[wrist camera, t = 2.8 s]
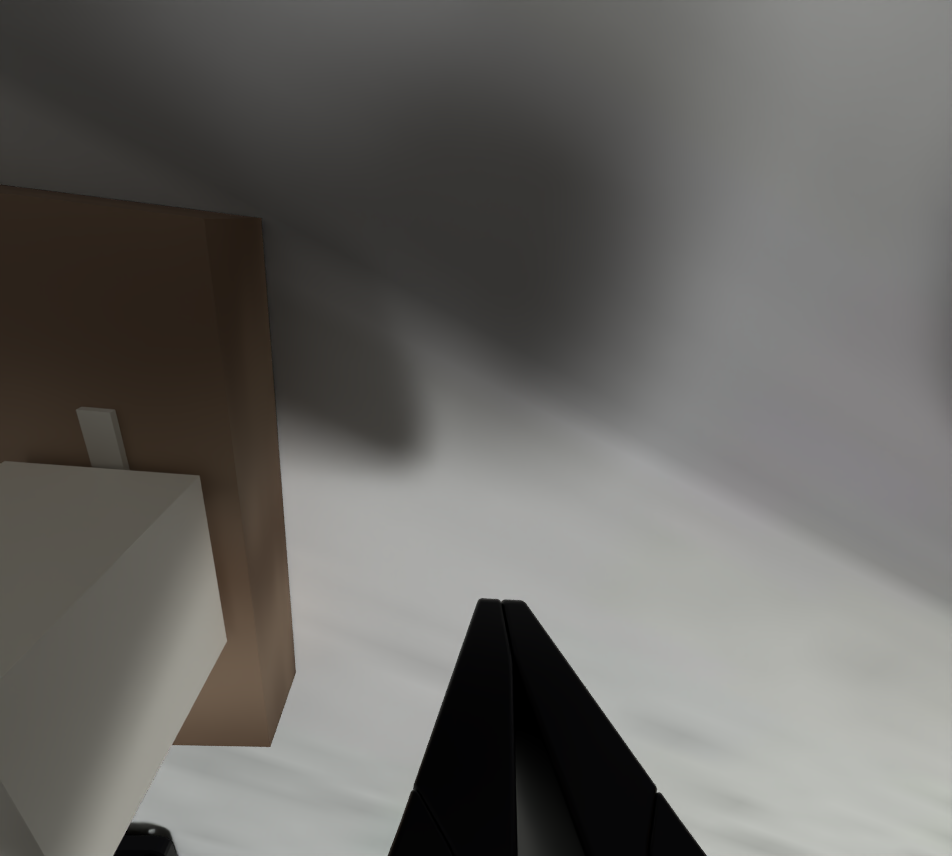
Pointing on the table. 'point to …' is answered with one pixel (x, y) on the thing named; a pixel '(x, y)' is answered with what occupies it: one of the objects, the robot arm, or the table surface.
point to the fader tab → (96, 646)
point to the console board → (159, 400)
